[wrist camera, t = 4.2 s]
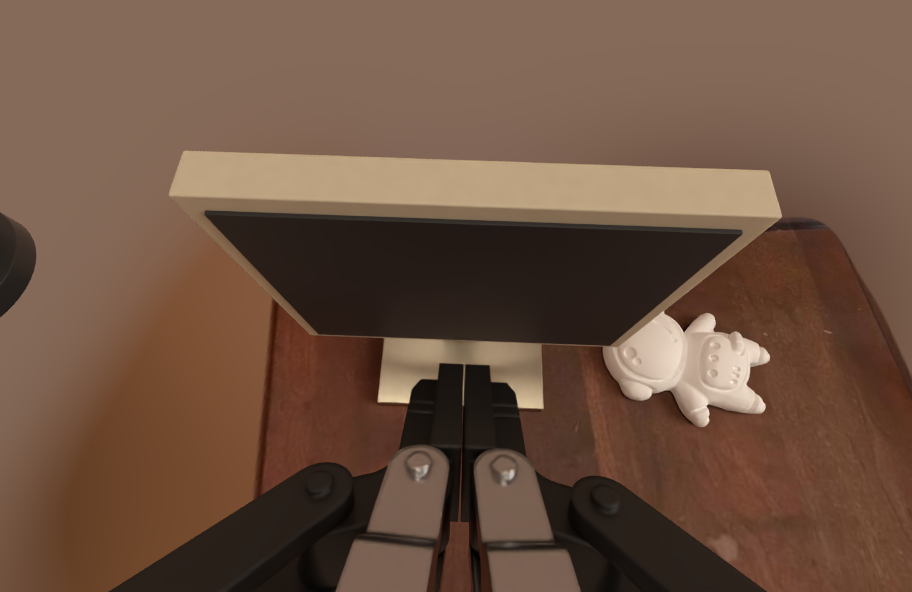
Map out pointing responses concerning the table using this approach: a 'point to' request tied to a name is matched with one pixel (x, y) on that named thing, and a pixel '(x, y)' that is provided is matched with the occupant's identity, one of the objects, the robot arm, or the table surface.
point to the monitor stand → (422, 359)
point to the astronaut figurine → (688, 366)
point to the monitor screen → (472, 241)
